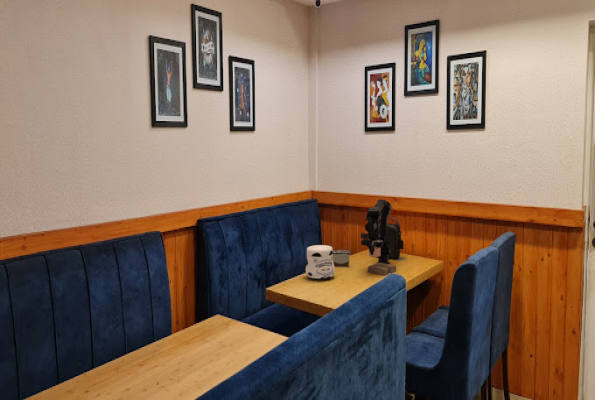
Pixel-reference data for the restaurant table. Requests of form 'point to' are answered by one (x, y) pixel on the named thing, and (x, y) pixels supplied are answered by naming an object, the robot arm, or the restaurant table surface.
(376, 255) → the terracotta cube
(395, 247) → the shoulder bag
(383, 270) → the walnut block
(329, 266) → the milk container
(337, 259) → the food container
